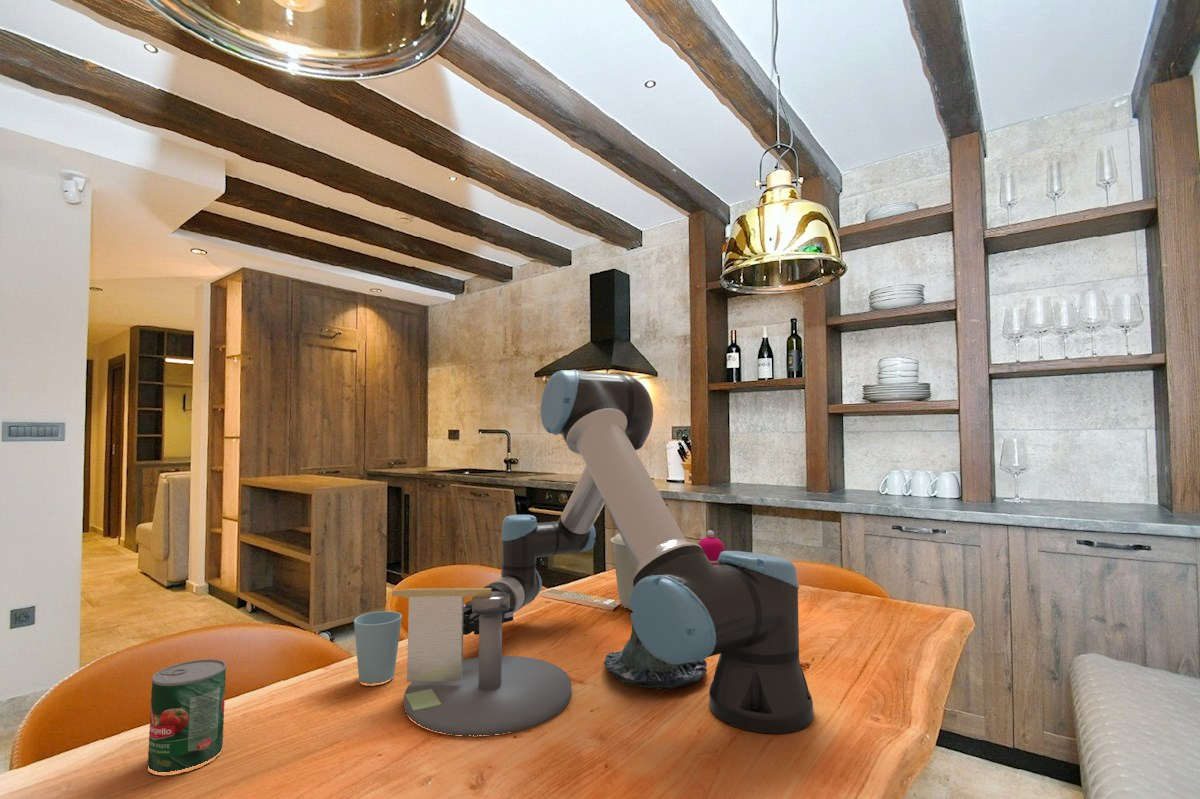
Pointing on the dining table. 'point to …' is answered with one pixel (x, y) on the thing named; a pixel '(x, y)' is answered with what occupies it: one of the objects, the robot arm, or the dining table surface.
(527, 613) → the dining table surface
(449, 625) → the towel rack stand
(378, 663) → the cup
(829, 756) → the dining table surface
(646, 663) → the tree stump
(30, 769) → the dining table surface
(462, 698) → the stand
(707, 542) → the pepper mill
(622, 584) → the canister
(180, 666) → the canned tomato
